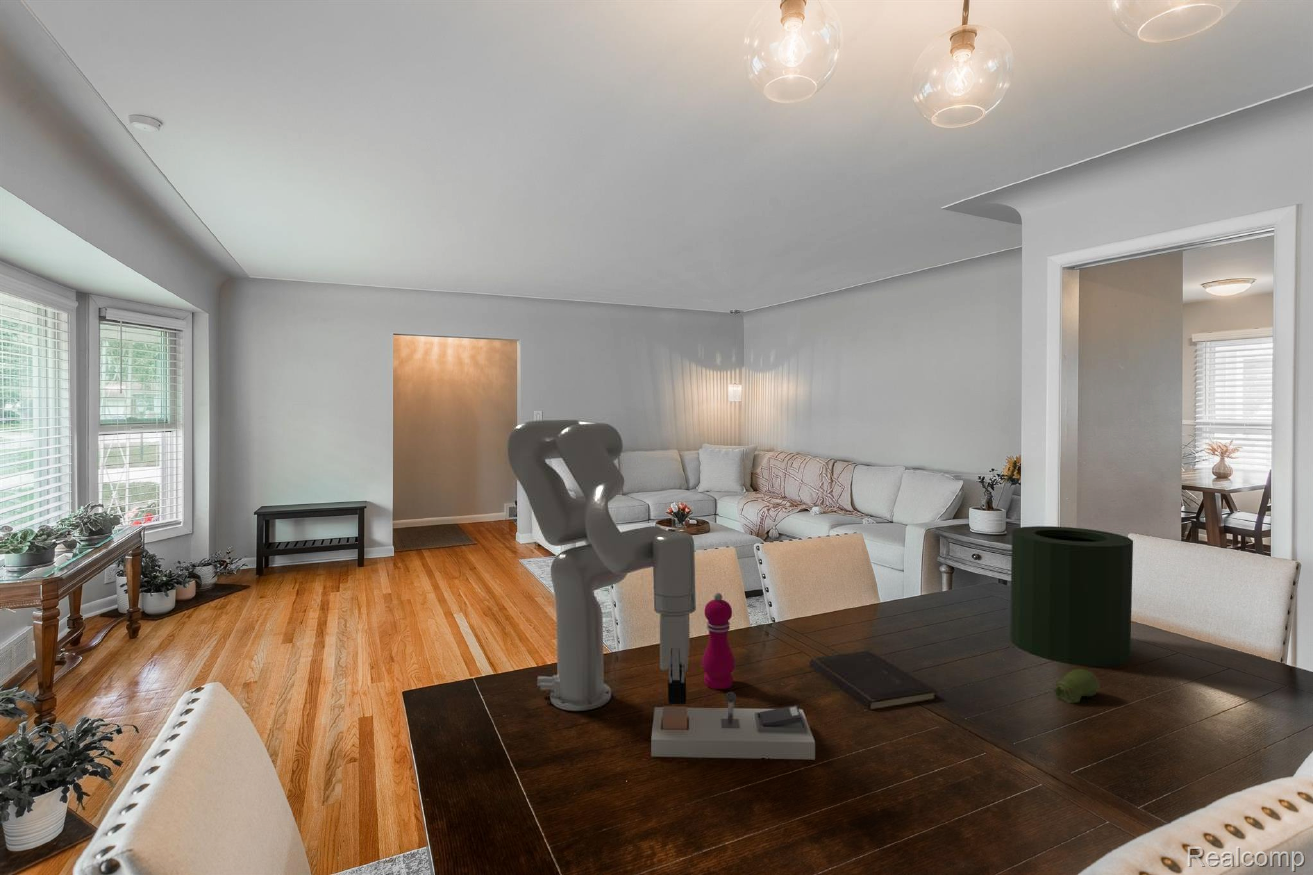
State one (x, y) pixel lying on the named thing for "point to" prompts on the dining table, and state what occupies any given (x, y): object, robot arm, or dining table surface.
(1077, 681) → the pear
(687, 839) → the dining table surface
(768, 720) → the panel
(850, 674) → the hardcover book
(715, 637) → the pepper mill
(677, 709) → the push button
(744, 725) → the control panel
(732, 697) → the toggle lever
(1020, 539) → the flower pot
